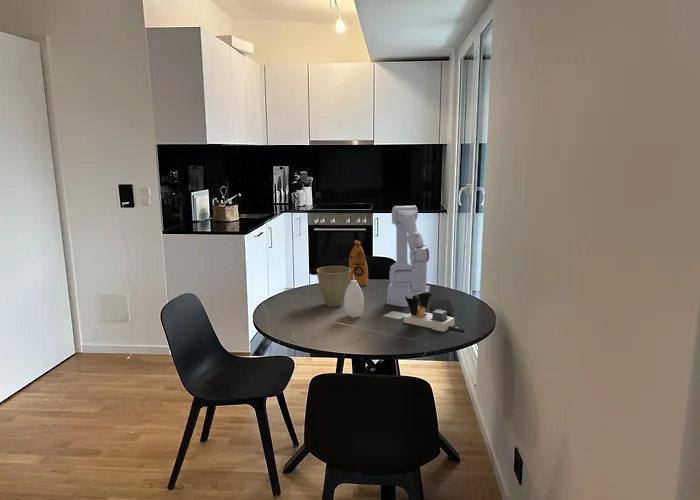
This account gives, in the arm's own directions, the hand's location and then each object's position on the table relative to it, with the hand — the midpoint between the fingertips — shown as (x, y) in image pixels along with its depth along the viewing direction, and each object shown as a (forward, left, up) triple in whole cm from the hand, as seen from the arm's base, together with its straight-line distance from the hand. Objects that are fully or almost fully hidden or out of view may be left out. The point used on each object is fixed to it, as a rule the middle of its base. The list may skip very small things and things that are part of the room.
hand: (418, 312), depth 200 cm
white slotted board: (+8, 0, -4) cm, 9 cm away
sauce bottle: (-24, -9, -4) cm, 26 cm away
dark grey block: (+9, 0, -4) cm, 10 cm away
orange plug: (0, 0, -4) cm, 4 cm away
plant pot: (-42, +1, -4) cm, 43 cm away
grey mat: (-11, +2, -4) cm, 12 cm away
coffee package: (-56, +38, -4) cm, 68 cm away
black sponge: (+1, +18, -5) cm, 18 cm away
